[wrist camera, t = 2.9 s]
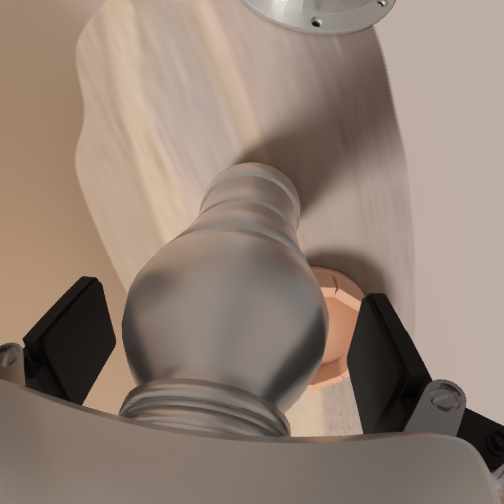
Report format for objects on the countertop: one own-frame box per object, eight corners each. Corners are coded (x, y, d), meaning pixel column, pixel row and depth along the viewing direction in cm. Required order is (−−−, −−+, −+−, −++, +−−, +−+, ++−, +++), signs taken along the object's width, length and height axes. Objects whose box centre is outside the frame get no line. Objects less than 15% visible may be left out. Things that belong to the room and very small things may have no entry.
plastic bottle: (315, 197, 22) (431, 478, 4) (255, 258, 24) (222, 536, 6) (249, 138, 20) (89, 308, 2) (191, 207, 23) (24, 448, 5)
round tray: (238, 261, 24) (233, 280, 22) (381, 268, 24) (393, 286, 21) (237, 366, 30) (234, 388, 27) (352, 369, 29) (357, 390, 26)
